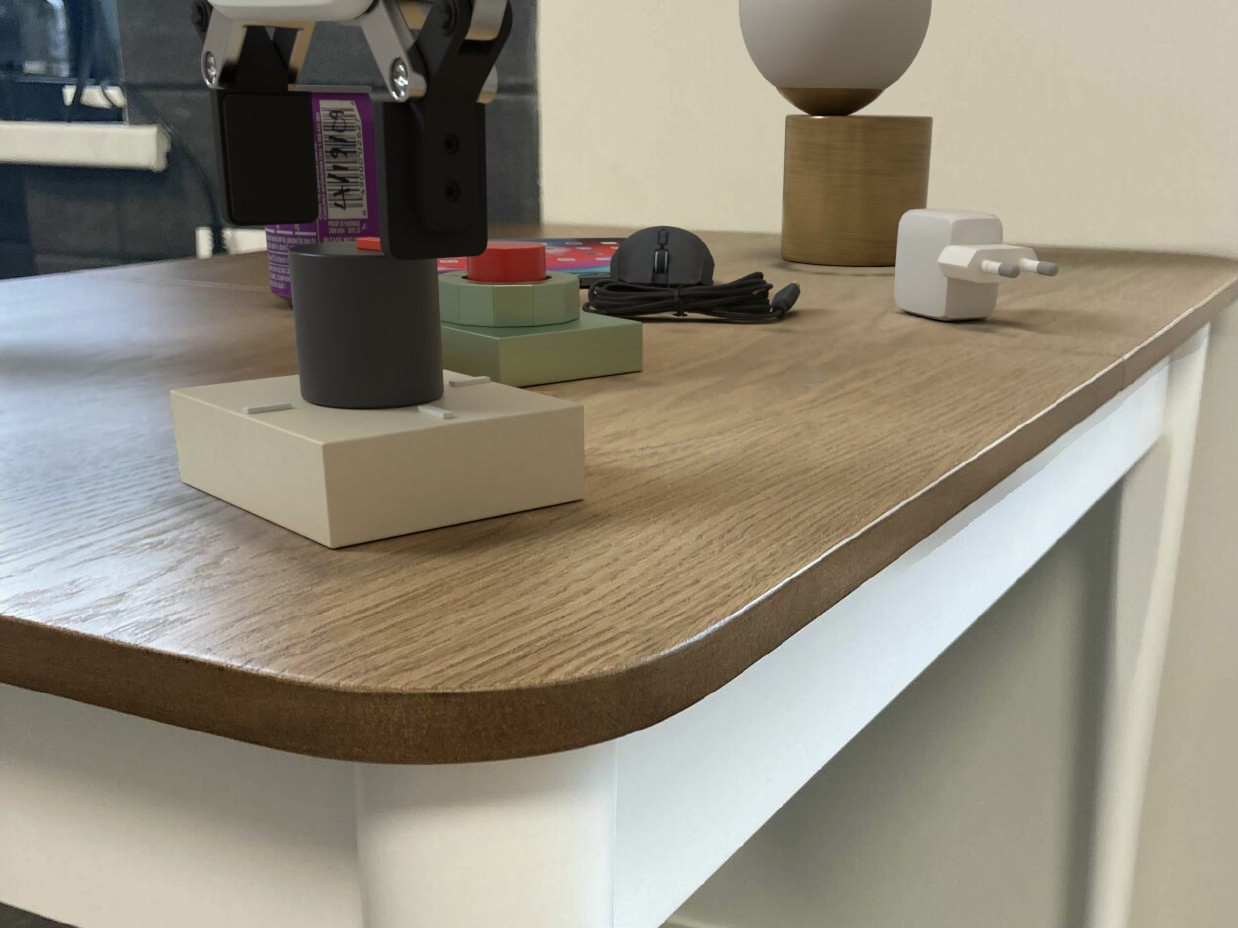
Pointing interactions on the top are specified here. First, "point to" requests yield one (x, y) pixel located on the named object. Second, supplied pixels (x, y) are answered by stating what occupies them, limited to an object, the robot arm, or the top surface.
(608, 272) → the tablet
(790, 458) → the top surface
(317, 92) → the beverage can
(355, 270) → the knob
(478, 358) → the switch block
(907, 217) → the power adapter
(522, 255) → the power button
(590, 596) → the top surface
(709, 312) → the computer mouse
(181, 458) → the control box
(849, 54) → the lamp
